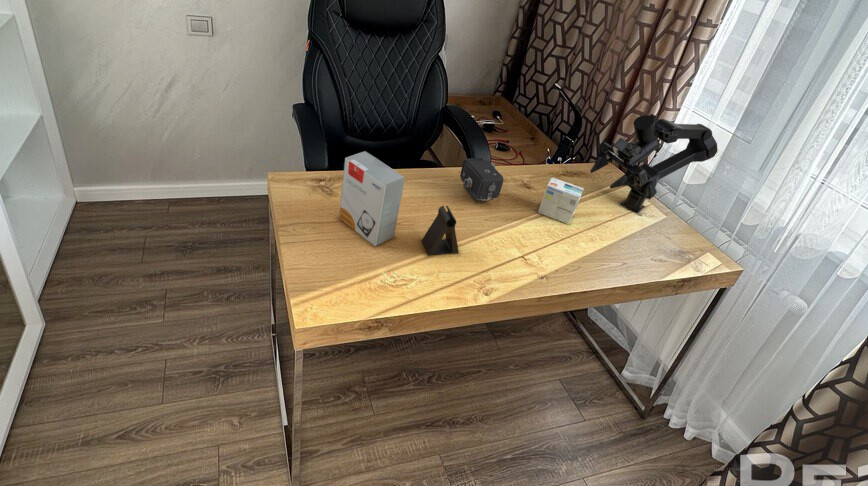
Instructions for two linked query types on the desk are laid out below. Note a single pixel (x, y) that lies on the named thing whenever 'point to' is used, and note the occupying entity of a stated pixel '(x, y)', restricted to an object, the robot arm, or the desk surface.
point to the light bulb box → (560, 200)
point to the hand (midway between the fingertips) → (600, 179)
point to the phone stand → (441, 234)
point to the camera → (481, 179)
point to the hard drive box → (370, 197)
